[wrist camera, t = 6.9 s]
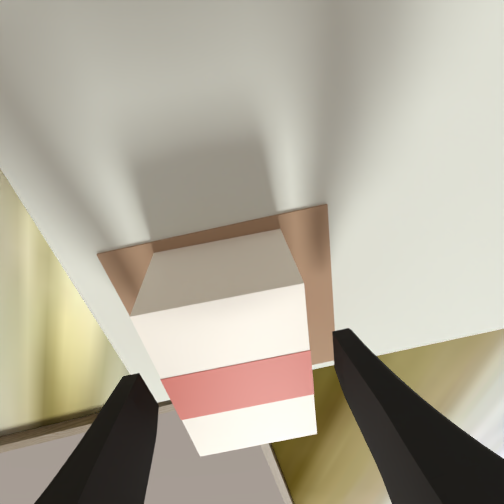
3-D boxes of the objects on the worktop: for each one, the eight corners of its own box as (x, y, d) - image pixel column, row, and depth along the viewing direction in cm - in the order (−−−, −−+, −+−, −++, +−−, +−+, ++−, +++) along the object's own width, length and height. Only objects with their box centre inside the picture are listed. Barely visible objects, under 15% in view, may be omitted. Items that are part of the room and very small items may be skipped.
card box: (297, 362, 15) (317, 433, 12) (203, 381, 15) (199, 457, 12) (280, 228, 11) (304, 283, 8) (153, 252, 11) (128, 317, 8)
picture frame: (2, 570, 27) (294, 502, 27) (-5, 586, 26) (297, 516, 26) (-207, 480, 18) (244, 370, 17) (-230, 501, 17) (246, 386, 16)
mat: (762, -225, 7) (797, -244, 7) (535, 315, 16) (544, 321, 16) (-112, -29, 7) (-132, -37, 7) (150, 397, 16) (148, 406, 16)
